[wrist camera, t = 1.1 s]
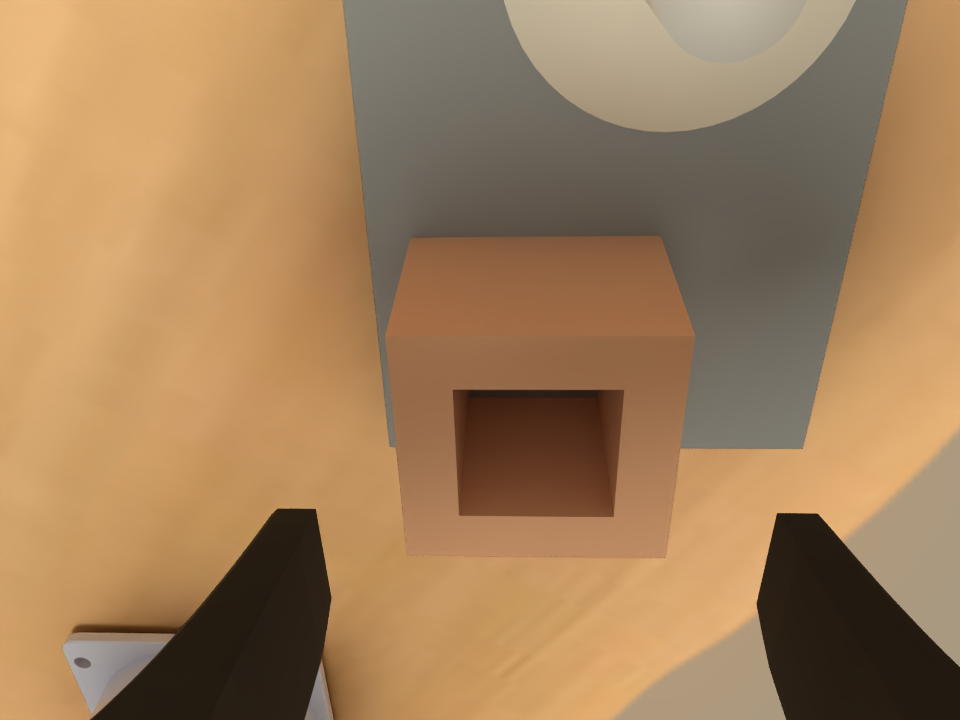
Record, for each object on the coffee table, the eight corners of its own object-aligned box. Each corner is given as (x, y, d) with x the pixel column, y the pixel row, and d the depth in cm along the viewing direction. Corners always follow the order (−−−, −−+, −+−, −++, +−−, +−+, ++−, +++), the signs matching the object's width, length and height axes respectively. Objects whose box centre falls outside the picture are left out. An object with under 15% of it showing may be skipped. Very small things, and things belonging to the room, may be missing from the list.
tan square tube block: (640, 435, 20) (665, 558, 17) (425, 434, 20) (407, 555, 17) (660, 235, 17) (694, 335, 14) (410, 237, 18) (384, 336, 14)
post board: (791, 424, 21) (859, 574, 17) (394, 422, 21) (364, 569, 17) (948, -290, 13) (1146, -341, 9) (326, -269, 14) (242, -308, 10)
